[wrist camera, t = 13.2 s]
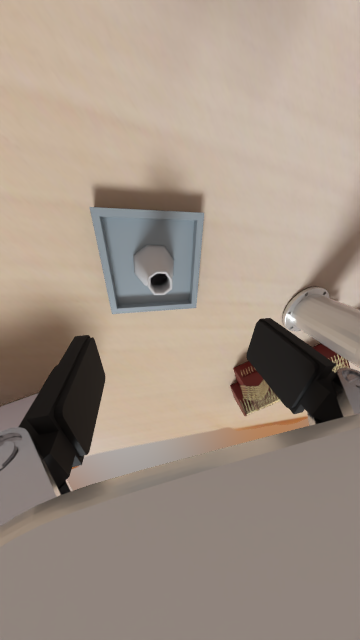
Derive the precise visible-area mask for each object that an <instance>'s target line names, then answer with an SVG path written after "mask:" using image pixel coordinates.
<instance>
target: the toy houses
mask: <svg viewBox="0 0 360 640" xmlns="http://www.w3.org/2000/svg"><path fill="white" fill-rule="evenodd" d="M312 348H314V349H315V350H316V351H318V352H319V353H321V354H322V355H324V356H325V357H326V358H328V359H329V360H331V361H332V362H333V363H335V364H336V366H335V367H334V368H333V370H332V371H334V372H335V373H336V371H337V370H338V369H339V368H350V366H349V362H348V360H346V359H345V358H343V357H342V356H340V355H339V354H337V353H336V352H334V351H332V350H331V349H329V348H328V347H326V346H325V345H323V344H322V343H321V344H319V345H317V346H314V347H312ZM233 369H234V372H235V376H236V379H237V383H235V384H233V385H230V386H231V389H232V392H233V395H234V398H235V400H236V402H237V404H238V405H239V407H240V409H241V411H242V413H243V414H244V416H247V414H250V413H251V412H255V411H259V410H260V409H262V408H265V407H267V406H269V405H271V404H274V403H277V402H279V401H280V399H279V398H278V396H277V395H276V394H275V393H274V392H273V390H272V389H271V388H270V387H269V385H268V384H267V383H266V382H265V380H264V379H263V378H262V377H261V375H260V374H259V373H258V372H257V371H256V369H255V368H254V367H253V366H252V364H251V363H250V362H249V361H248V362H246V363H243V364H241V365H239V366H237V367H235V368H233ZM270 403H271V404H270ZM268 404H269V405H268ZM263 406H264V407H263Z"/></svg>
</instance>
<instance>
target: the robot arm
mask: <svg viewBox="0 0 360 640" xmlns="http://www.w3.org/2000/svg"><path fill="white" fill-rule="evenodd" d="M283 324H284V326H285V327H286V328H287V329H289V330H291V331H301V330H302V331H303V332H305V333H306V334H308V335H309V336H311V337H312V338H314V339H315V340H317V341H319V342H320V343H322V344H323V345H325V346H326V347H328V348H329V349H331V350H332V351H334V352H336V353H337V354H339V355H340V356H342V357H343V358H345V359H346V360H348V361H350V362H351V363H353V364H354V365H356V366H357V367H359V368H360V310H359V309H356V308H354V307H351V306H349V305H346V304H343V303H341V302H338V301H335V300H333V299H330V297H329V293H328V291H327V290H325V289H323V288H321V287H311V288H308V289H305V290H303V291H302V292H300V293H299V294H297V295H296V296H295V297H294V298H293V299H292V300H291V301H290V302H289V304H288V305H287V307H286V309H285V311H284V314H283ZM287 329H285V328H284V327H282V326H281V325H279V324H278V323H277V322H275V321H274V320H272V319H271V318H265V319H260V320H259V321H258V322H257V323H256V326H255V329H254V332H253V335H252V339H251V342H250V345H249V348H248V351H247V359H248V361H249V362H250V363H251V364H252V366H253V367H254V368H255V369H256V371H257V372H258V373H259V374H260V375H261V377H262V378H263V379H264V380H265V382H266V383H267V384H268V385H269V387H270V388H271V389H272V390H273V392H274V393H275V394H276V395H277V396H278V398H279V399H280V400H281V401H282V403H283V404H284V405H285V406H286V407H287V408H289V409H290V410H291V411H292V413H293V414H297V413H301V412H303V411H304V409H305V410H306V411H307V412H308V420H309V426H307V427H303V428H299V429H295V430H291V431H287V432H284V433H280V434H276V435H272V436H268V437H265V438H261V439H257V440H253V441H249V442H246V443H241V444H238V445H234V446H230V447H227V448H222V449H219V450H215V451H211V452H207V453H204V454H200V455H196V456H192V457H189V458H185V459H181V460H177V461H174V462H170V463H166V464H162V465H159V466H155V467H151V468H147V469H144V470H140V471H137V472H133V473H130V474H126V475H123V476H120V477H116V478H112V479H109V480H106V481H103V482H99V483H95V484H92V485H89V486H86V487H83V488H80V489H77V490H74V491H73V490H72V488H71V486H70V485H69V482H68V480H67V478H68V477H69V476H70V472H71V469H72V467H75V466H79V465H82V462H83V458H84V455H87V454H88V453H89V450H90V446H91V442H92V437H93V433H94V428H95V424H96V419H97V415H98V410H99V406H100V401H101V397H102V392H103V388H104V383H105V373H104V370H103V366H102V363H101V360H100V356H99V353H98V350H97V346H96V343H95V340H94V338H90V336H89V335H84V336H76V337H74V339H73V341H72V342H71V344H70V346H69V347H68V349H67V351H66V353H65V354H64V356H63V358H62V359H61V361H60V363H59V364H58V365H57V366H56V367H55V368H54V369H53V370H52V372H51V374H50V375H49V377H48V379H47V380H46V382H45V383H44V385H43V387H42V388H41V390H40V392H39V393H38V395H37V397H36V398H35V400H34V402H33V403H32V405H31V407H30V408H29V410H28V412H27V413H26V415H25V417H24V418H23V420H22V421H21V423H20V425H19V426H18V427H16V428H10V429H7V430H4V431H1V432H0V640H360V372H359V371H357V370H354V369H350V368H339V369H338V370H337V371H336V373H335V372H334V371H332V370H333V368H334V367H335V366H336V364H335V363H333V362H332V361H331V360H329V359H328V358H326V357H325V356H324V355H322V354H321V353H319V352H318V351H316V350H315V349H314V348H312V347H311V346H309V345H308V344H306V343H305V342H304V341H302V340H301V339H299V338H298V337H297V336H295V335H294V334H292V333H291V332H289V331H288V330H287Z"/></svg>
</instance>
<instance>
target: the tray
mask: <svg viewBox="0 0 360 640" xmlns="http://www.w3.org/2000/svg"><path fill="white" fill-rule="evenodd" d="M90 211H91V216H92V221H93V226H94V230H95V235H96V240H97V245H98V249H99V254H100V259H101V264H102V268H103V273H104V278H105V283H106V287H107V292H108V297H109V302H110V306H111V311H112V314H119V313H133V312H147V311H160V310H174V309H188V308H196V303H197V291H198V279H199V268H200V256H201V244H202V232H203V221H204V213H196V212H177V211H157V210H137V209H117V208H98V207H90ZM146 245H160V246H165V248H166V249H167V251H168V252H169V254H170V255H171V257H172V258H173V260H174V267H173V277H172V279H173V281H172V290H170V291H169V292H167V293H166V294H165V295H154V294H153V293H152V292H151V290H150V289H149V288H148V286H145V285H144V284H143V283H142V282H141V280H140V279H139V278H138V277H137V276H136V274H135V273H134V261H133V255H134V254H136V253H137V252H138V251H140V250H141V249H142V248H143V247H145V246H146Z"/></svg>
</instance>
